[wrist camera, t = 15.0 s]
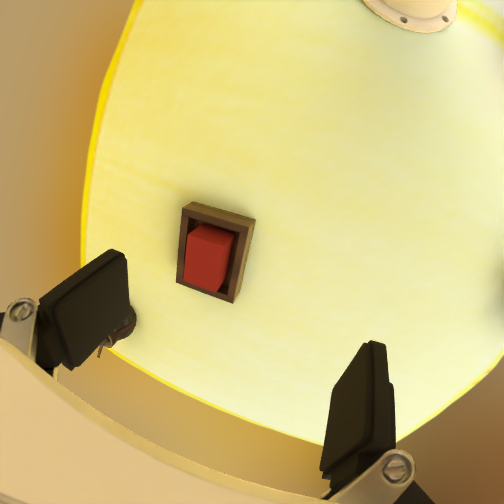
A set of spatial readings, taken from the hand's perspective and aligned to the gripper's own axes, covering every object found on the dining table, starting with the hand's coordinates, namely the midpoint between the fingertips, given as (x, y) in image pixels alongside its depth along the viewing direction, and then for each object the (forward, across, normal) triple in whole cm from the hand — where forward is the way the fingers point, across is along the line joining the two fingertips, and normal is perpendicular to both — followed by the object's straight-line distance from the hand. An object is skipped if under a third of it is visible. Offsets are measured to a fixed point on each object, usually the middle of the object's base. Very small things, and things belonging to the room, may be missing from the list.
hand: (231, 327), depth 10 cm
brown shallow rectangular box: (+24, +9, +11) cm, 28 cm away
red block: (+23, +9, +11) cm, 27 cm away
